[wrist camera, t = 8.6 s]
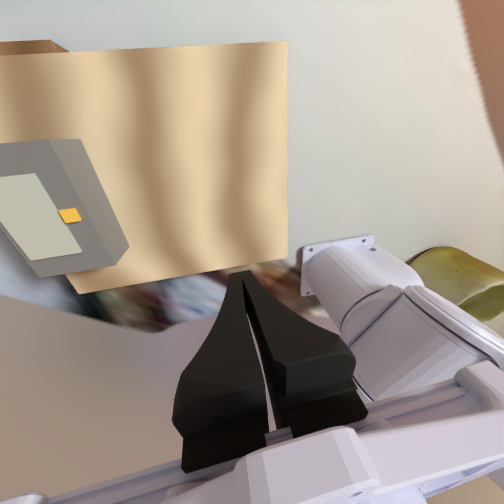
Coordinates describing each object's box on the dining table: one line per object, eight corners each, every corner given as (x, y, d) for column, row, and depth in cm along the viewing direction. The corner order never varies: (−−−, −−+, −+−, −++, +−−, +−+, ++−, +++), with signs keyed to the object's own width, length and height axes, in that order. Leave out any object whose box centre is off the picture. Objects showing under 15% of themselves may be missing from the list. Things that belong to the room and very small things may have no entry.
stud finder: (80, 139, 13) (44, 139, 10) (129, 246, 17) (113, 267, 14) (-6, 147, 12) (-69, 149, 10) (66, 256, 16) (36, 280, 14)
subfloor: (272, 42, 15) (287, 17, 12) (277, 249, 24) (287, 265, 21) (-32, 57, 13) (-106, 32, 10) (101, 279, 22) (84, 302, 19)
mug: (481, 223, 25) (569, 294, 19) (452, 263, 33) (508, 322, 27) (379, 255, 28) (427, 326, 22) (374, 285, 36) (409, 344, 30)
